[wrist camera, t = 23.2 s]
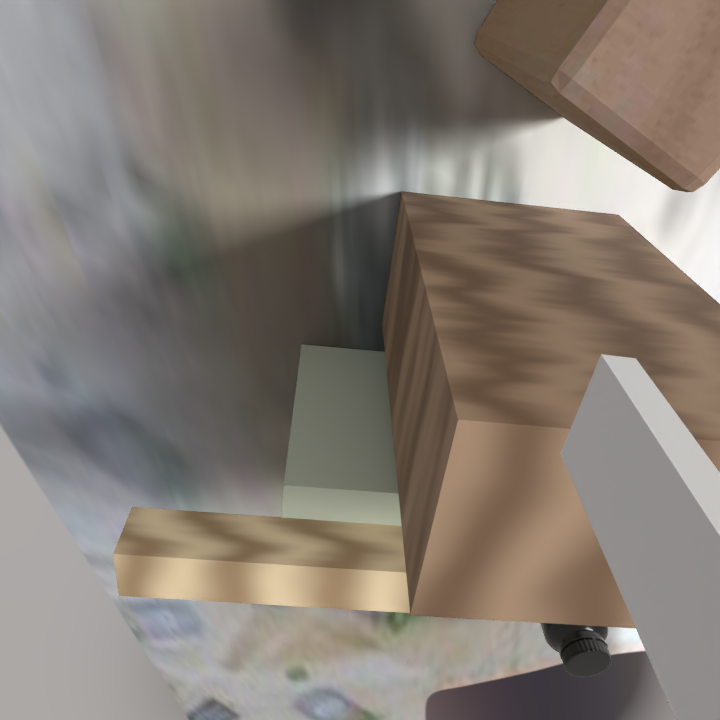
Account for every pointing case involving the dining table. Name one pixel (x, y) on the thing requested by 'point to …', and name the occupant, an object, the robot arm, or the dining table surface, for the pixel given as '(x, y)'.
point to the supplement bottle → (579, 647)
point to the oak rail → (261, 560)
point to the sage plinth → (341, 440)
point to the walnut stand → (523, 395)
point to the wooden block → (621, 75)
